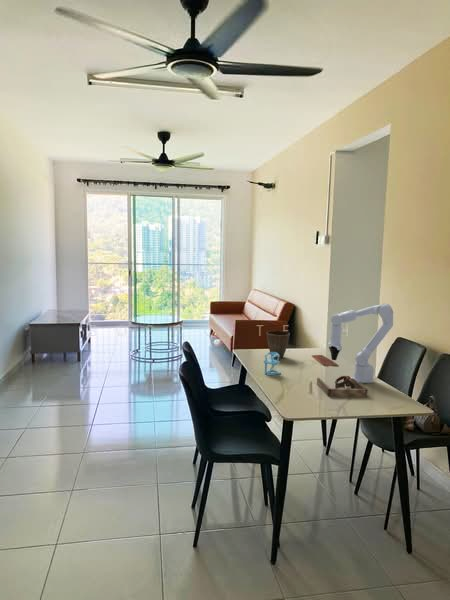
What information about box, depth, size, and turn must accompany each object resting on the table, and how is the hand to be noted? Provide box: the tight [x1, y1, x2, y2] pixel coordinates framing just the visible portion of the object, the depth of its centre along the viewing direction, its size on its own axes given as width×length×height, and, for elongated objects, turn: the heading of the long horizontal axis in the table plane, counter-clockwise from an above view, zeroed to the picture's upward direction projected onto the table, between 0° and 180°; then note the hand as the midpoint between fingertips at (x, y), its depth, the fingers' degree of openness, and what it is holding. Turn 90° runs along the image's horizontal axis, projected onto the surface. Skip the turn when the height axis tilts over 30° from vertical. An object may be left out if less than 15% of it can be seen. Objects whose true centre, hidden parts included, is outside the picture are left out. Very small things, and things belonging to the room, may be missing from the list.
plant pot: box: [266, 330, 291, 359], centre depth 260 cm, size 15×15×16 cm
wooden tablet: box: [311, 354, 340, 368], centre depth 258 cm, size 27×10×2 cm, turn 7°
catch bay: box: [316, 377, 369, 398], centre depth 202 cm, size 19×17×4 cm
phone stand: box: [263, 351, 282, 376], centre depth 225 cm, size 8×8×12 cm
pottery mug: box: [334, 375, 355, 389], centre depth 204 cm, size 12×10×8 cm
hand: (333, 359), depth 224 cm, fingers closed
